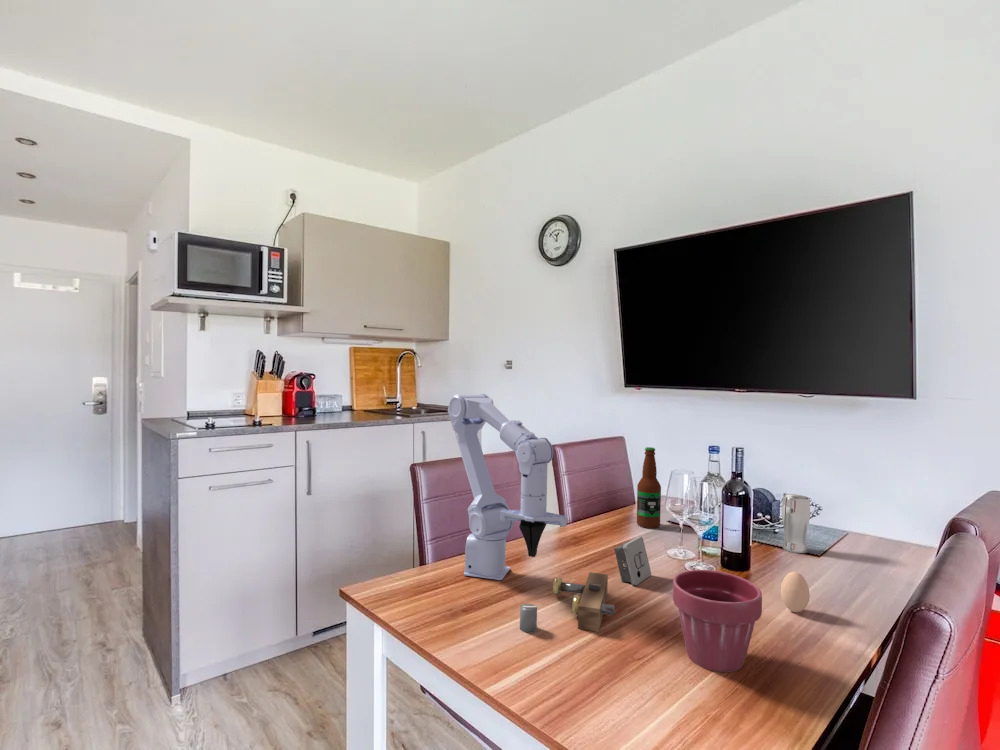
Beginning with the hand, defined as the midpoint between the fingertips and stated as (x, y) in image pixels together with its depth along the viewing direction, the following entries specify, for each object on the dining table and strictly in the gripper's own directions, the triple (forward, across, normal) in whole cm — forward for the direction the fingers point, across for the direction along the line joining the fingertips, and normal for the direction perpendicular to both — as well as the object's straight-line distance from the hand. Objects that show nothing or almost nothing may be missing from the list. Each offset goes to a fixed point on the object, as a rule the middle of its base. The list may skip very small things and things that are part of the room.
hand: (532, 555), depth 117 cm
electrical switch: (+9, +21, +16) cm, 28 cm away
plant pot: (+9, +36, -16) cm, 40 cm away
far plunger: (+8, +9, 0) cm, 12 cm away
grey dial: (+8, +3, -16) cm, 18 cm away
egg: (+9, +54, +9) cm, 55 cm away
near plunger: (+8, +14, -8) cm, 18 cm away
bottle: (+8, +24, +63) cm, 68 cm away
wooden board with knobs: (+8, +14, -4) cm, 17 cm away
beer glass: (+9, +64, +53) cm, 84 cm away
